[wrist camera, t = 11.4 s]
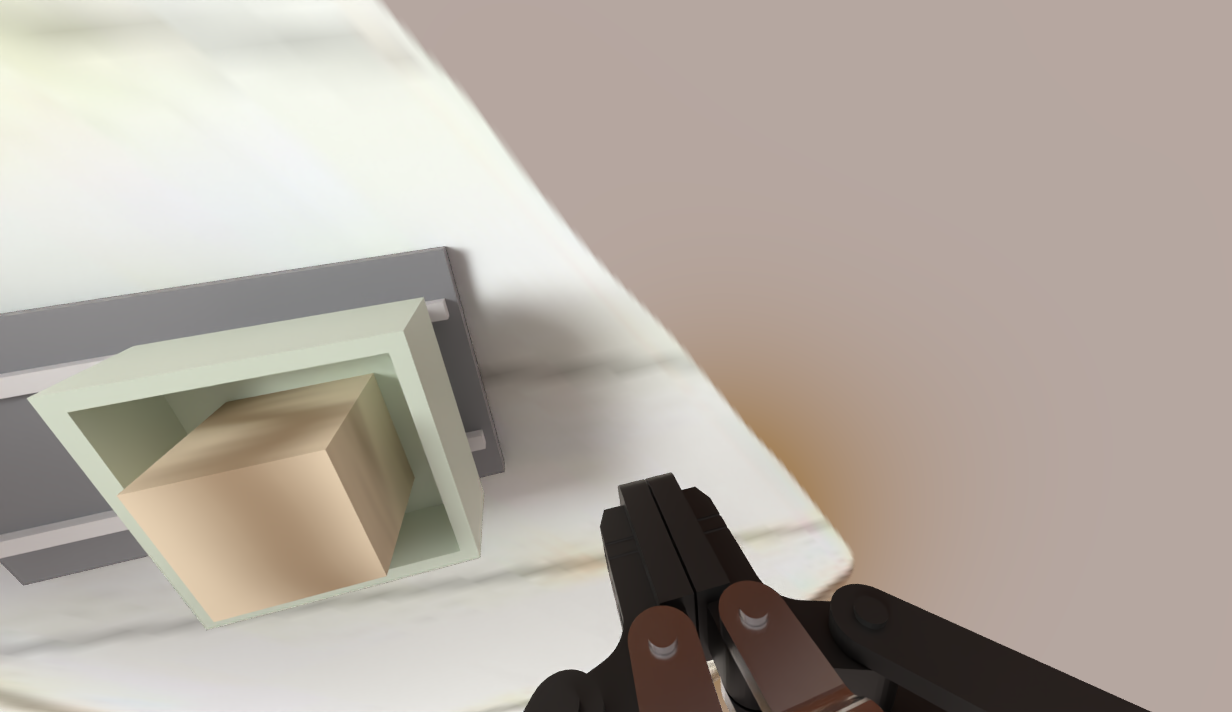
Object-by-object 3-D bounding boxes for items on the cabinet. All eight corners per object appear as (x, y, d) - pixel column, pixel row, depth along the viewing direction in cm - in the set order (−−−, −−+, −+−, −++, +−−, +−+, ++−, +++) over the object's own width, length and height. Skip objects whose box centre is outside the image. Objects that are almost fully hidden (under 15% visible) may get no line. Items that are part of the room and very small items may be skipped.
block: (286, 507, 18) (213, 622, 13) (225, 401, 16) (116, 495, 11) (414, 477, 19) (386, 576, 14) (373, 373, 17) (325, 449, 12)
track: (39, 571, 21) (10, 596, 20) (-177, 340, 16) (-235, 355, 15) (504, 462, 25) (504, 478, 23) (445, 246, 20) (441, 251, 18)
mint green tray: (280, 515, 21) (206, 630, 16) (172, 326, 17) (26, 398, 12) (485, 467, 23) (480, 557, 17) (431, 284, 19) (403, 330, 13)
